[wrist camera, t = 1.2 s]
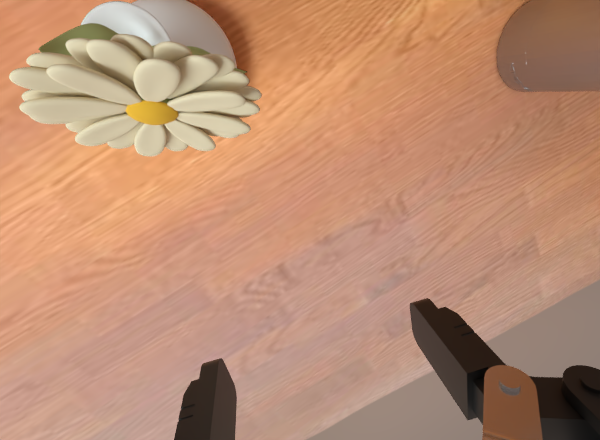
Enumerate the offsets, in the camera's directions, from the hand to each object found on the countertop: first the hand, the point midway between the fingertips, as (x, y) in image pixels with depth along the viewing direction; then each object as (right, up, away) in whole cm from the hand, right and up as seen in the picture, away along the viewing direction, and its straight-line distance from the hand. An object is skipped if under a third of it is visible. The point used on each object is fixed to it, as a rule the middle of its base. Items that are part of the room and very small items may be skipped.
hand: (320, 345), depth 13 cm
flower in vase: (-12, +19, +18) cm, 29 cm away
